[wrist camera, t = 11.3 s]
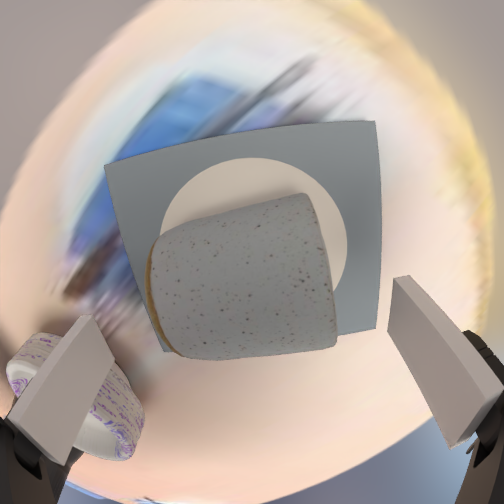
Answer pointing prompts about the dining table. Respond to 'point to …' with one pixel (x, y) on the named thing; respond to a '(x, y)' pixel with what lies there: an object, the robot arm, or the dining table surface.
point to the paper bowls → (102, 410)
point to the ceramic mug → (243, 283)
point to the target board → (265, 198)
